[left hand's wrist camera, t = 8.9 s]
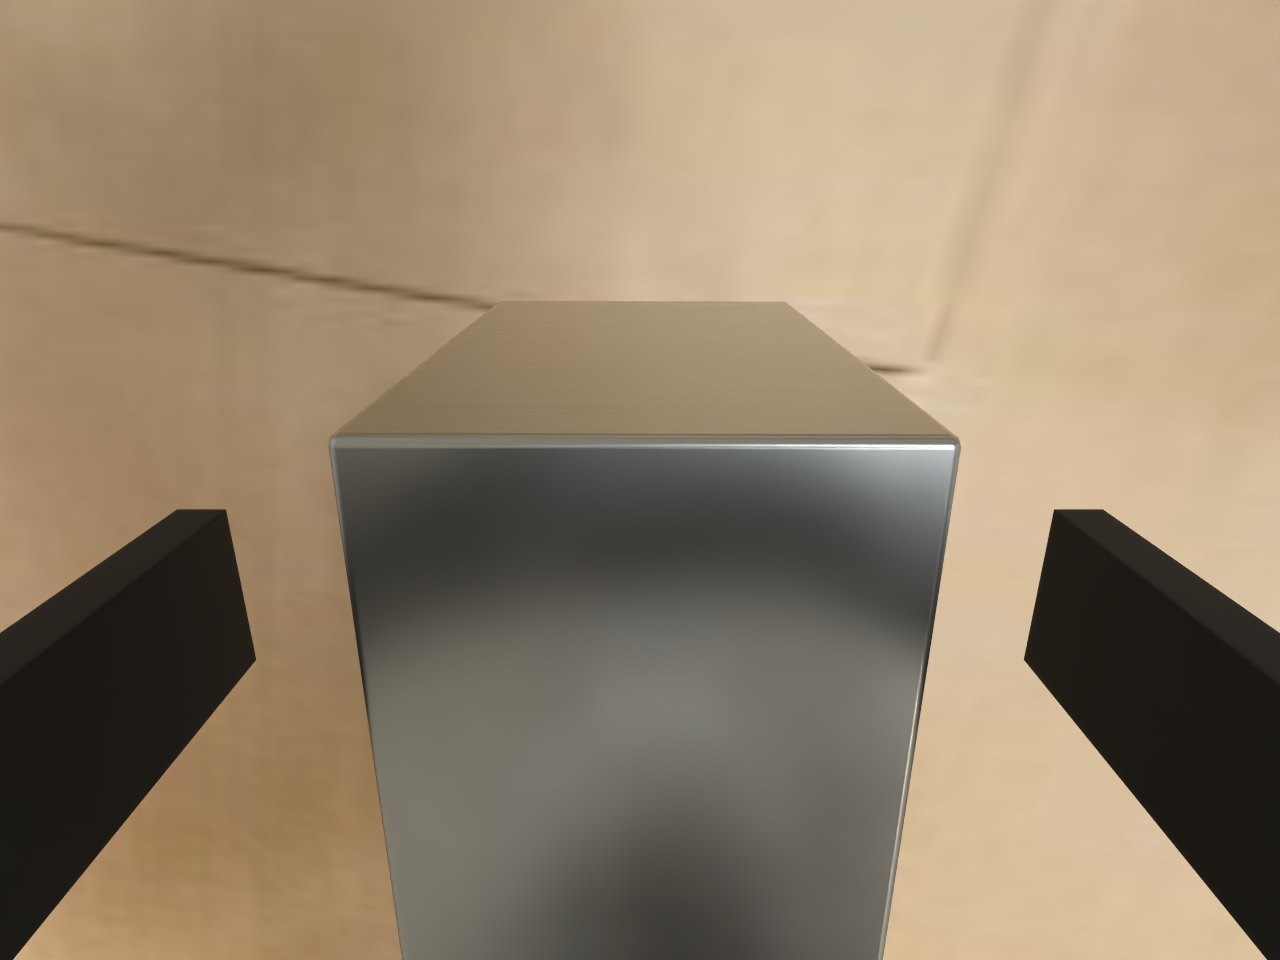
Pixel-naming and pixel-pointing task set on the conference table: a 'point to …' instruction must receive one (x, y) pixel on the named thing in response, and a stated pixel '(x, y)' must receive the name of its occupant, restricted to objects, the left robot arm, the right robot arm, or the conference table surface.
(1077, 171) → the conference table surface
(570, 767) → the bar
